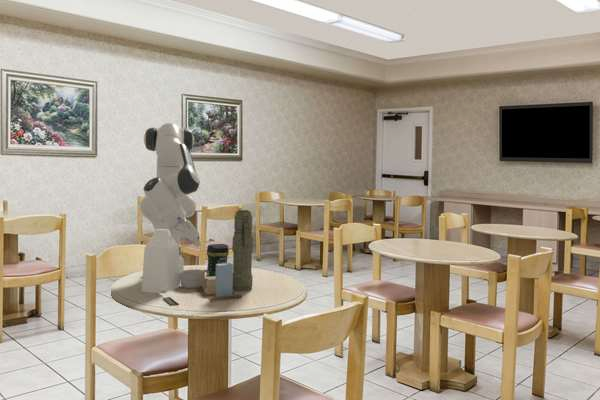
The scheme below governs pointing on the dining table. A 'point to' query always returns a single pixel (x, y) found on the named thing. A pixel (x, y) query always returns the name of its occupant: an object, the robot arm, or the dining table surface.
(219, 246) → the coffee jar
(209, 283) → the offcut top
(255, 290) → the dining table surface
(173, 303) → the mat
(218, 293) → the tall pale blue box
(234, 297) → the tray
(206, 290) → the offcut low
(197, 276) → the teacup
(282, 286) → the dining table surface
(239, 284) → the thermos
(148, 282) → the milk
